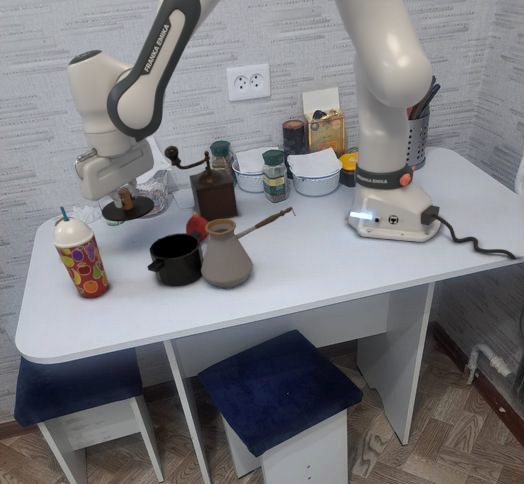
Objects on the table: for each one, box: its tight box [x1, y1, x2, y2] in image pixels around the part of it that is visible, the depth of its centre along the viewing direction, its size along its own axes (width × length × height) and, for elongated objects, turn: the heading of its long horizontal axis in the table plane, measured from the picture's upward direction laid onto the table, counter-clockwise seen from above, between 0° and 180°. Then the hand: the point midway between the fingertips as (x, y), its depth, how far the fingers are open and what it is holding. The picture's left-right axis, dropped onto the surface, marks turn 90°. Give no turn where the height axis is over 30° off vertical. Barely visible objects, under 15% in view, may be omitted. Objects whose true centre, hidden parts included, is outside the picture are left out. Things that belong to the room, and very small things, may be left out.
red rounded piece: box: [185, 211, 209, 244], centre depth 115 cm, size 6×6×8 cm
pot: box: [147, 231, 204, 288], centre depth 106 cm, size 11×17×7 cm
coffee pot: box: [201, 206, 296, 289], centre depth 100 cm, size 21×12×15 cm, turn 96°
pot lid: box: [101, 188, 155, 223], centre depth 109 cm, size 12×12×5 cm
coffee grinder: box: [163, 145, 239, 223], centre depth 124 cm, size 16×11×18 cm
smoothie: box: [51, 206, 109, 299], centre depth 99 cm, size 8×8×20 cm
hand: (126, 202), depth 109 cm, fingers closed on pot lid, 2 cm apart
